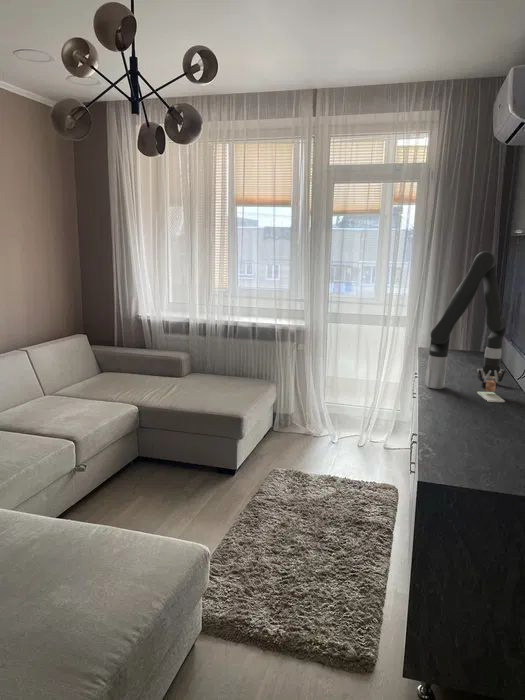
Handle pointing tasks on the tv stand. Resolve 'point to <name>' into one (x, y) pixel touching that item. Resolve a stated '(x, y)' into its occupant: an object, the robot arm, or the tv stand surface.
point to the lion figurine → (492, 376)
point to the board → (491, 397)
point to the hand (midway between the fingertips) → (488, 388)
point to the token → (490, 386)
